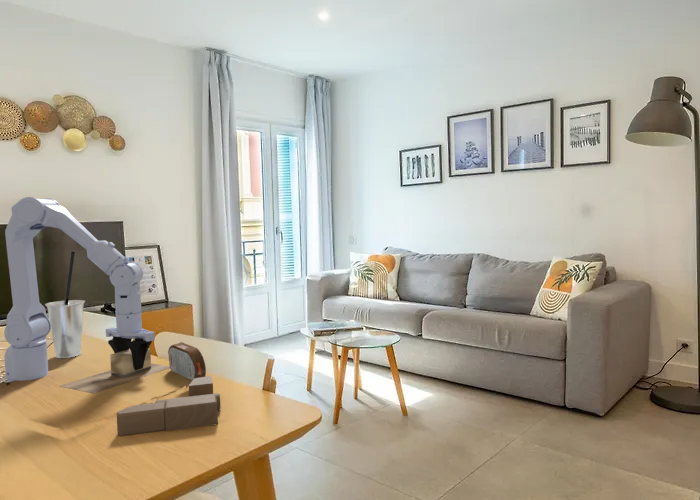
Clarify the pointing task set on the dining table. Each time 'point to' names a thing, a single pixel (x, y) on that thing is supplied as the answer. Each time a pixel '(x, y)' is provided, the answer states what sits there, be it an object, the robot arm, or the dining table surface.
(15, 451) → the dining table surface
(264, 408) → the dining table surface
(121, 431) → the wooden block set
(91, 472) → the dining table surface
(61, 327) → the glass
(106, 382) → the plank
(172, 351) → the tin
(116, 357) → the block
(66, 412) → the dining table surface
